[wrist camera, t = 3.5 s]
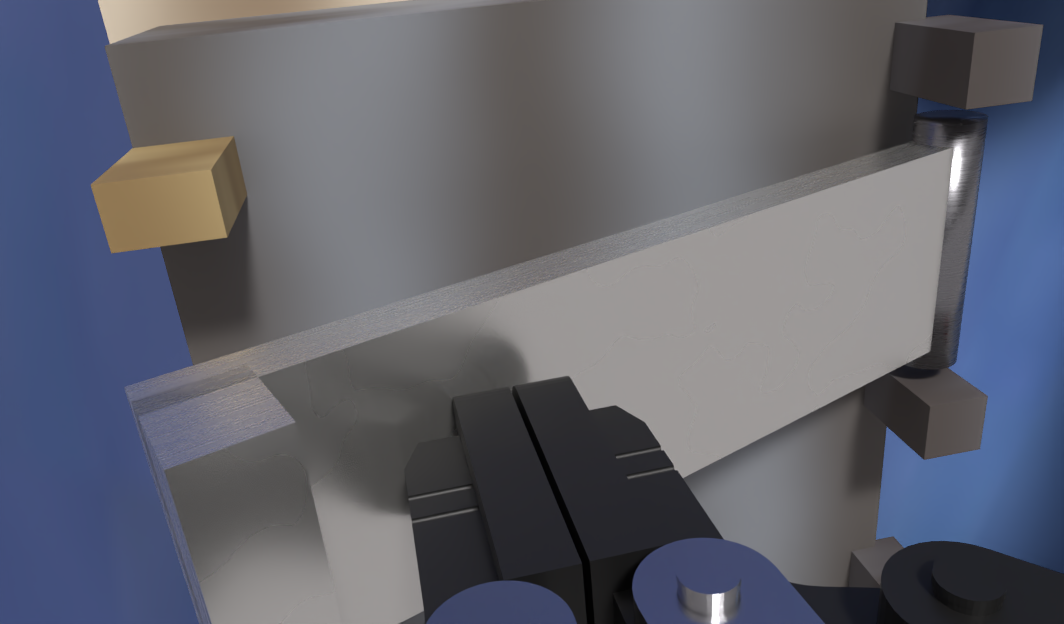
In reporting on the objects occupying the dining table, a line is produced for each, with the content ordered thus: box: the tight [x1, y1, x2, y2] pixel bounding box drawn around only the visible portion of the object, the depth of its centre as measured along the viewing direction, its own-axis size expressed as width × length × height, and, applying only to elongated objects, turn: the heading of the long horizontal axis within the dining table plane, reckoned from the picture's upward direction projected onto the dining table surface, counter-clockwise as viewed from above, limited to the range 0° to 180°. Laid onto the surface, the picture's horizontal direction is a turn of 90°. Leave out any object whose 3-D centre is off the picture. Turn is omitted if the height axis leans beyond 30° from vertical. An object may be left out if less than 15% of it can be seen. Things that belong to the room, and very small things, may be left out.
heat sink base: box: [91, 0, 1043, 624], centre depth 20 cm, size 16×28×8 cm, turn 6°
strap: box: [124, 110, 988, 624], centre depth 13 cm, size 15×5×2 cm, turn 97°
